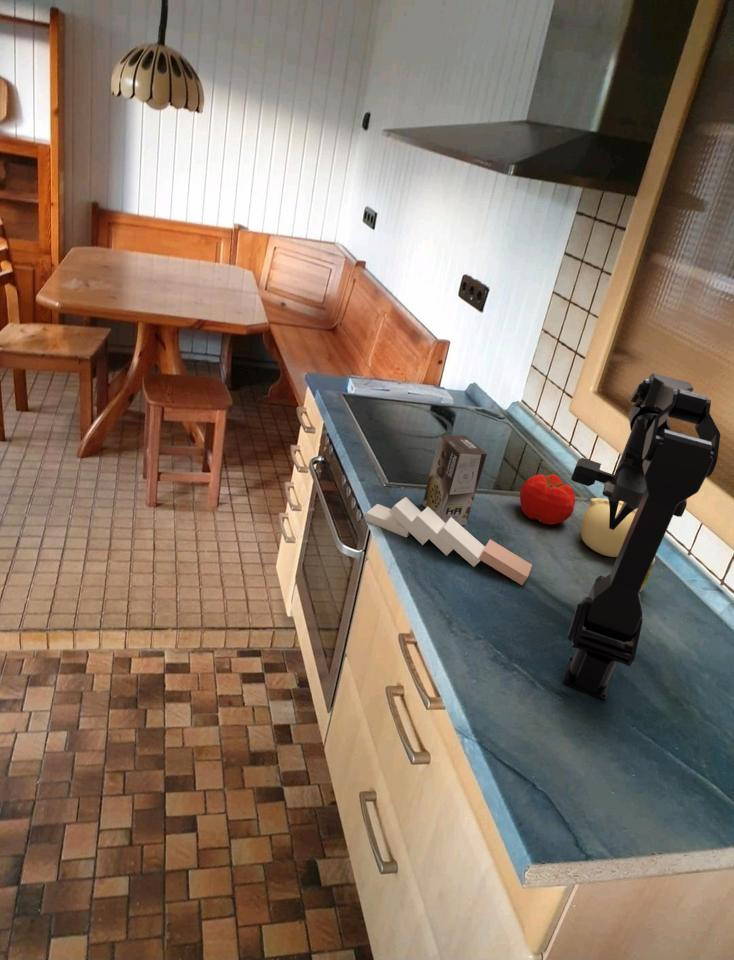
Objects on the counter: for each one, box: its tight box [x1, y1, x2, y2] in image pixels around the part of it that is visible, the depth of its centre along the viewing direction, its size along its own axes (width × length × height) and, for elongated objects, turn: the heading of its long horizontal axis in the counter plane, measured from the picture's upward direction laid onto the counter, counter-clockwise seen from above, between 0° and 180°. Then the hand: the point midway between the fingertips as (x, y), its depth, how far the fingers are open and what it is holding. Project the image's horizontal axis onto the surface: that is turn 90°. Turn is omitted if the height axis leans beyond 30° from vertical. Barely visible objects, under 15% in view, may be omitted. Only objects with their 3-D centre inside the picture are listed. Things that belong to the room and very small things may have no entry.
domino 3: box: [412, 507, 454, 556], centre depth 132 cm, size 5×2×9 cm
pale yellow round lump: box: [580, 497, 637, 558], centre depth 143 cm, size 12×12×11 cm
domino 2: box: [389, 496, 430, 546], centre depth 134 cm, size 5×2×9 cm
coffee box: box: [422, 434, 488, 526], centre depth 141 cm, size 9×6×16 cm
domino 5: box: [479, 539, 533, 586], centre depth 128 cm, size 5×2×9 cm
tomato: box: [519, 473, 576, 526], centre depth 150 cm, size 11×12×9 cm
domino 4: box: [437, 517, 486, 568], centre depth 130 cm, size 5×2×9 cm
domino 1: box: [364, 503, 412, 538], centre depth 136 cm, size 5×2×9 cm
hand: (611, 528), depth 123 cm, fingers closed
